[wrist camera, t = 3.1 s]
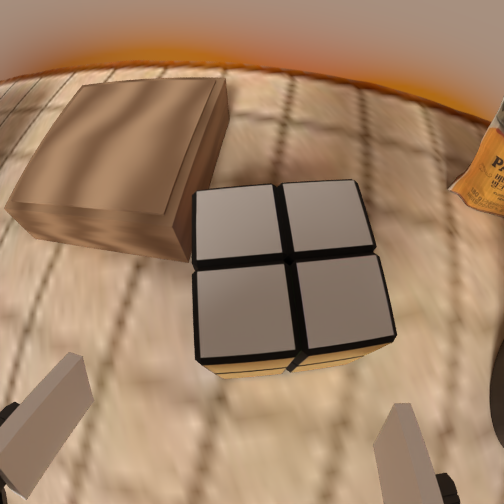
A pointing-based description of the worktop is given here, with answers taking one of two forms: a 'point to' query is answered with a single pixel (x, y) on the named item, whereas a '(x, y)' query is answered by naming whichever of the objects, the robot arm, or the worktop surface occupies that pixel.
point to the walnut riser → (125, 166)
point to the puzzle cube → (285, 279)
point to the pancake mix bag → (485, 172)
